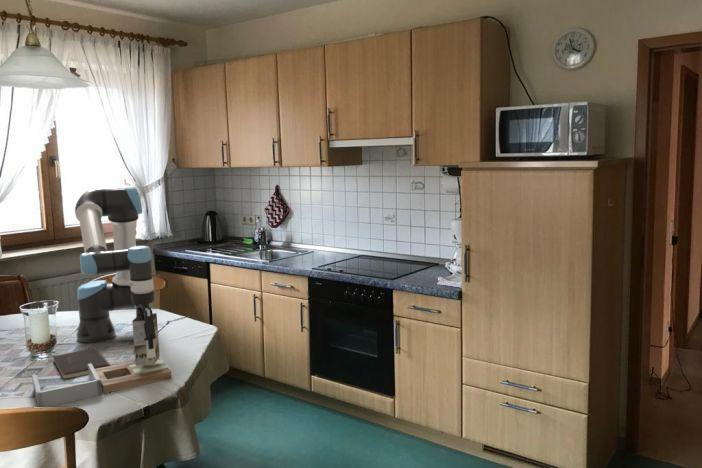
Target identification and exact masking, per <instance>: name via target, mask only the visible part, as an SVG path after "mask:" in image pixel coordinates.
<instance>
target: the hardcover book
mask: <svg viewBox="0 0 702 468" xmlns="http://www.w3.org/2000/svg"><path fill="white" fill-rule="evenodd" d="M52 358H53V360H54V363H55V364H56V367H57V368H58V370H59V372H60V373H61V376H62V377H63V379H64V380H65V379H70V378H74V377H78V376H84V375H85V376H86V375H89V373H88V364H90V363H91V364H92V365H93V367H94V369H97V368H102V367H107V366H112V365H111V364H110V363H109V362H108V360H107V359H106V358H105V357H104V355H103V354H102V353H101V352H100V350H99V349H98V348H97V347H92V348H88V349H84V350H77V351H72V352H67V353H61V354H57V355H53V356H52Z"/></svg>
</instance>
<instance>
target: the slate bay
mask: <svg viewBox="0 0 702 468" xmlns="http://www.w3.org/2000/svg"><path fill="white" fill-rule="evenodd" d="M88 373H89V374H88V379H89V381H85V382H79V383H74V384H69V385H64V386H60V387H55V388H51V389H46V390H45V389H44V390H41V388H40V387H41V386H40V383H39V379H38V376H37V373H35V374H32V375H31V378H32V386H33V391H34V392H33V393H34V396H35V400H36V403H37V408H38V407H45V408H48V407H53V406H59V405H62V404H67V403H72V402H75V401H76V402H77V401H81V400H85V399H88V398H89V399H90V398H94V397H98V396H102V395H103V390H102V388H101V380H100V378H99V376H98V374H97V373H96V371H95V369H94V367H93V365H92V364H91V363H90V364H88Z"/></svg>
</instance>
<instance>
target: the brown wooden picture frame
mask: <svg viewBox="0 0 702 468" xmlns="http://www.w3.org/2000/svg"><path fill="white" fill-rule="evenodd" d="M95 371H96V373H97V374H98V376H99V378H100V380H101V389H102V393H104V394H106V393H107V394H108V393H110V392H114V391H119V390H124V389H128V388H129V389H130V388H134V387H138V386H142V385H147V384H150V383H151V384H152V383H157V382H161V381H165V380H169V379H172V370H170V368H169V367H168V366H167V364H166V363H165V362H164V361H163V360H162V359H161V358H160V357H159V358H158V360H157V361H156V362H155V364H154V365H146V366H136V361H135V360H132V361H128V362H122V363H118V364H113V365H111V366H107V367H102V368H97V369H95Z"/></svg>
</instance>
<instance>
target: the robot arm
mask: <svg viewBox="0 0 702 468" xmlns="http://www.w3.org/2000/svg"><path fill="white" fill-rule="evenodd" d="M74 212H75V213H74V214H75V217H76V219H77V221H78V222H79V227H80V231H81V232H80V233H81V239H82V245H83V251H84V253H81V254H80V255H79V263H80V265H79V267H80V272H81V274H82V275H85V276H86V275H87V276H88V275H99V274H107V273H115V275H114V276H113V277H112V280H111V282H109V283H108V282H107V280H104V279H102V280H99V279H98V280H93V281H90V282H86V283H84V284H81V285H80V286H78V288H77V290H76V291H77V292H76V293H77V294H76V295H77V298H76V299H77V306H78V307H77V308H78V316H79V322H78V327H77V330H76V331H77V332H76V341H78V342H80V343H97V342H103V341H106V340H110V339H112V338H114V337H115V336H116V328H115V326H114V324H113V322H112V319H111V317H110V312H112V311H113V312H114V311H120V310H121V311H122V310H127V309H128V310H129V309H135V310H136V311H135V312H136V313H135V315H136V316H135V318H136V317H137V316H140V317H141V320H145V323H144V328H145V334H146V338H145V339H144V341H146V352H147V358H153V357H156V356H155V343H154V339H155V338H156V336H155V329H154V323H153V315H152V313H153V309H152V307H150V304H151V303H154V302H155V291H154V289H155V286H154V285H155V284H154V277H153V262H152V257H153V256H152V252H151V251H152V250H151V247H150V246H148V245H137V242H136V241H137V240H136V222H137V221H139V215H142V213H143V206H142V201H141V196H140V192H139V190H138V188H137V187H136V186H135V185H113V186H102V187H101V186H99V187H98V186H96V187H93V188H90V189H88V190H86V191H85V192H84V193H83V194H82V195H81V196H80V197H79V198H78V200H77V202H76V204H75V207H74ZM102 217H107V219H108V221H109V222H111V224H112V234H113V235H112V236H113V239H112V240H113V250H108V248H107V242H106V237H105V233H104V227H103V223H102ZM150 335H152V336H150Z"/></svg>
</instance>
